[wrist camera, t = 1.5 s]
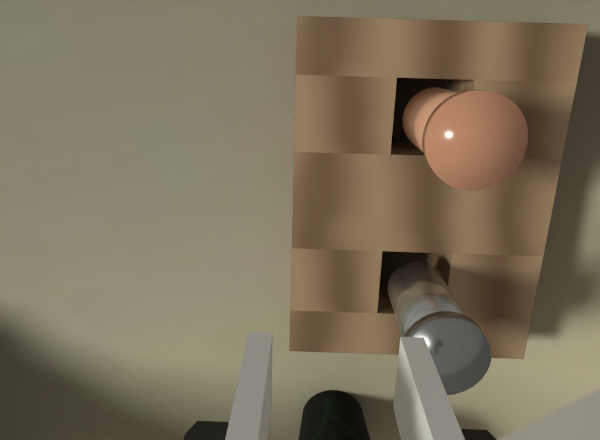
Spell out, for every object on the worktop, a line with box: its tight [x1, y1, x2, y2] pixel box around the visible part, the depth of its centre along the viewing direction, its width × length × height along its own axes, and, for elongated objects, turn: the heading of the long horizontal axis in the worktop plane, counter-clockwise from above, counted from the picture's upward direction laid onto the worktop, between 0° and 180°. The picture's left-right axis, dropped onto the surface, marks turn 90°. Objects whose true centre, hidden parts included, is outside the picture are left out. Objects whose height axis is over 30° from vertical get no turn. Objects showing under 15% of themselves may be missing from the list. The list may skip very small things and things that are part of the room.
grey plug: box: [387, 262, 491, 395], centre depth 32 cm, size 5×5×9 cm
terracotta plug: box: [402, 87, 528, 191], centre depth 28 cm, size 5×5×9 cm
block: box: [289, 16, 588, 359], centre depth 37 cm, size 18×24×5 cm
